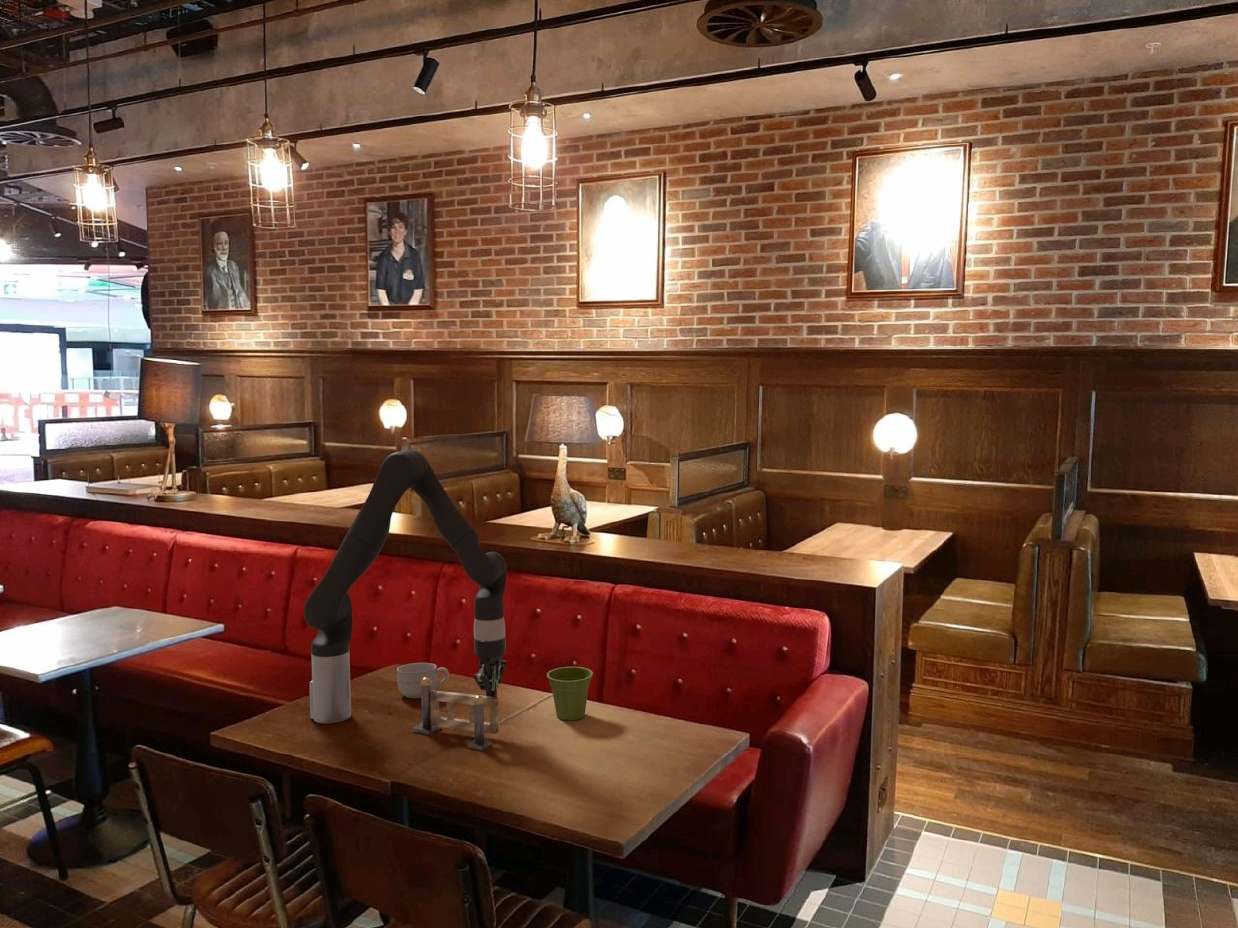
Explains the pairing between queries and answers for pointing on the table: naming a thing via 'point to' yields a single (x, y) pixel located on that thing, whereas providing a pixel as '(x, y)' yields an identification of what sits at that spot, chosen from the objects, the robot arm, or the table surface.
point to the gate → (469, 699)
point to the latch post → (479, 726)
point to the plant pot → (570, 691)
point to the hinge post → (425, 709)
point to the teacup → (418, 678)
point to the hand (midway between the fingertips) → (491, 704)
